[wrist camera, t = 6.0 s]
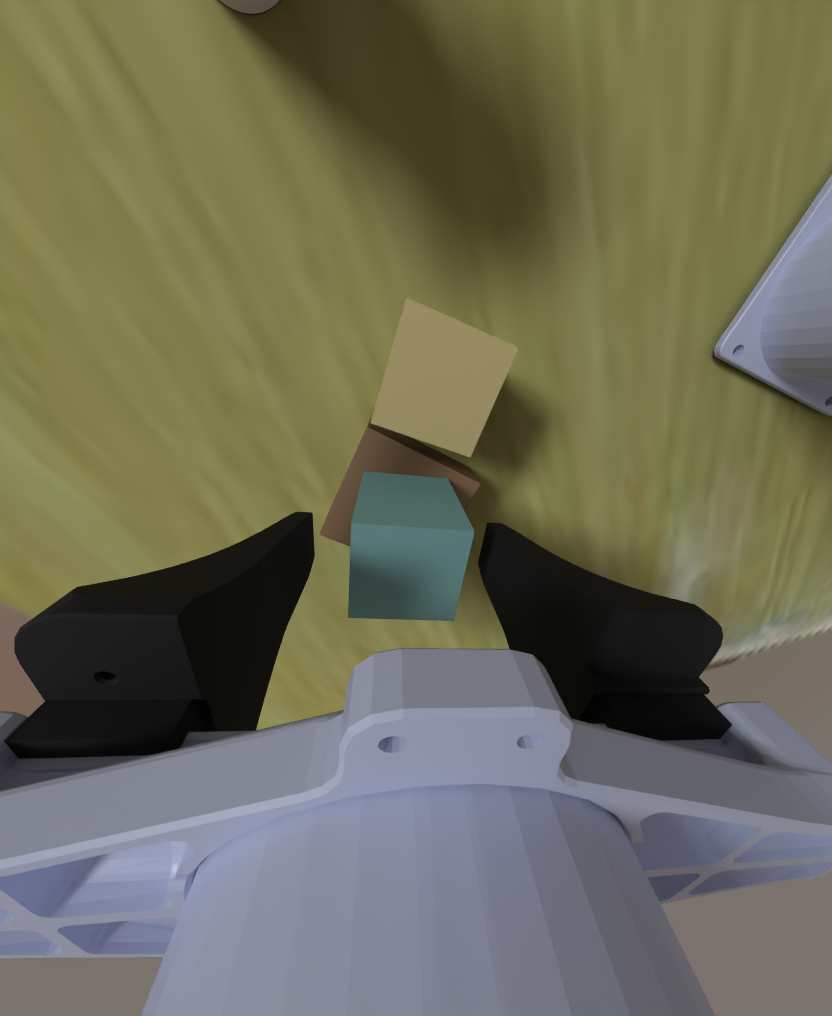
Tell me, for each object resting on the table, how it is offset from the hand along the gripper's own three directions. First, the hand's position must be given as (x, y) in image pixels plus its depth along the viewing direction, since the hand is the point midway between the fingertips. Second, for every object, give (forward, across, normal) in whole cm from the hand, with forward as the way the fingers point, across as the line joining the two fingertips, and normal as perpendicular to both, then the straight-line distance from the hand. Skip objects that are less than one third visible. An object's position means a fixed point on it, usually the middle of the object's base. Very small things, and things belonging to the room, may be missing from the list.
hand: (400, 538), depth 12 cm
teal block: (+3, 0, 0) cm, 3 cm away
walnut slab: (+6, 0, 0) cm, 6 cm away
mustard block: (+6, -1, -6) cm, 8 cm away
